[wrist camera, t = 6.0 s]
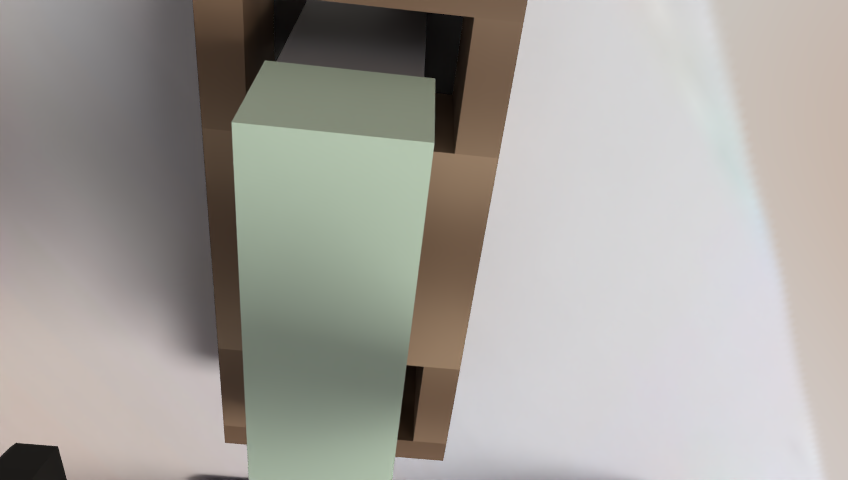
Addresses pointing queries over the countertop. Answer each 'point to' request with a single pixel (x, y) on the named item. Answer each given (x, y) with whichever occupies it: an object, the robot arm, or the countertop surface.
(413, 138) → the green toy bench
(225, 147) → the post base
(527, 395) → the countertop surface
